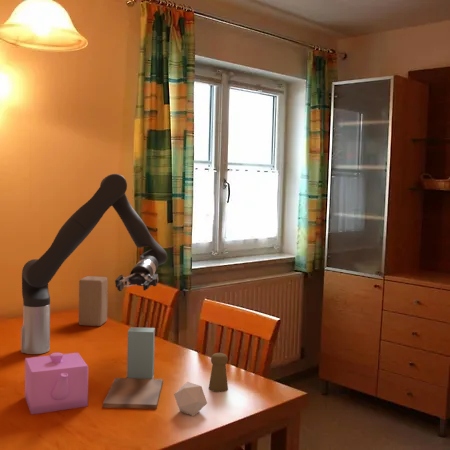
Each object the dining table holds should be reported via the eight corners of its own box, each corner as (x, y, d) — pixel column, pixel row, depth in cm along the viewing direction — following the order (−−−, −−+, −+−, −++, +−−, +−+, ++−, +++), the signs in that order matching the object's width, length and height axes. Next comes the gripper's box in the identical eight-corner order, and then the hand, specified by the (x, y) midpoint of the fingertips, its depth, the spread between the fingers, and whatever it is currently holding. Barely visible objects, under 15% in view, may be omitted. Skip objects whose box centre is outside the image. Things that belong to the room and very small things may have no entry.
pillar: (126, 380, 179) (127, 331, 178) (129, 375, 184) (130, 327, 183) (152, 381, 179) (153, 332, 178) (153, 376, 184) (154, 327, 183)
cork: (231, 387, 177) (232, 352, 176) (223, 393, 171) (224, 358, 170) (213, 383, 179) (215, 349, 178) (205, 389, 174) (206, 355, 173)
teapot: (35, 425, 146) (35, 372, 144) (22, 391, 168) (23, 345, 167) (93, 416, 152) (94, 365, 151) (74, 384, 175) (75, 340, 174)
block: (107, 321, 250) (108, 276, 249) (100, 327, 240) (101, 280, 239) (85, 319, 251) (86, 275, 250) (77, 325, 241) (78, 279, 240)
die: (212, 414, 158) (205, 380, 162) (203, 409, 150) (196, 374, 155) (185, 422, 159) (179, 388, 164) (174, 418, 151) (168, 382, 156)
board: (102, 407, 158) (102, 403, 158) (115, 381, 178) (115, 377, 178) (156, 408, 158) (156, 404, 158) (162, 382, 178) (162, 379, 178)
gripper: (123, 262, 204) (109, 278, 188) (161, 261, 202) (151, 276, 186) (125, 282, 205) (112, 299, 190) (163, 281, 204) (153, 298, 188)
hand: (131, 288), depth 188 cm, fingers open, 8 cm apart
